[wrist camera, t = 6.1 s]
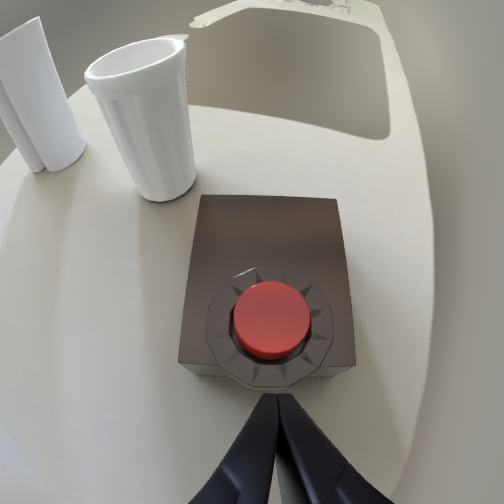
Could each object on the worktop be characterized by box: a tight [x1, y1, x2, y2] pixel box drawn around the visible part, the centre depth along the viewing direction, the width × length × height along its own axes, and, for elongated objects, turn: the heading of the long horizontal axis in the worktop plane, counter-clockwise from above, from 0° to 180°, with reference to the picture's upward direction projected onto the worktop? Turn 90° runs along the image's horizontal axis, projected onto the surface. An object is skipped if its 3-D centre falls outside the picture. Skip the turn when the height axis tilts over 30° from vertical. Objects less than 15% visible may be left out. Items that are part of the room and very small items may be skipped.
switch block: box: [178, 195, 356, 390], centre depth 19 cm, size 13×10×7 cm
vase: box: [0, 17, 86, 173], centre depth 24 cm, size 11×7×20 cm, turn 76°
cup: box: [84, 38, 196, 202], centre depth 23 cm, size 8×8×14 cm
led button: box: [234, 281, 310, 360], centre depth 14 cm, size 4×4×2 cm
